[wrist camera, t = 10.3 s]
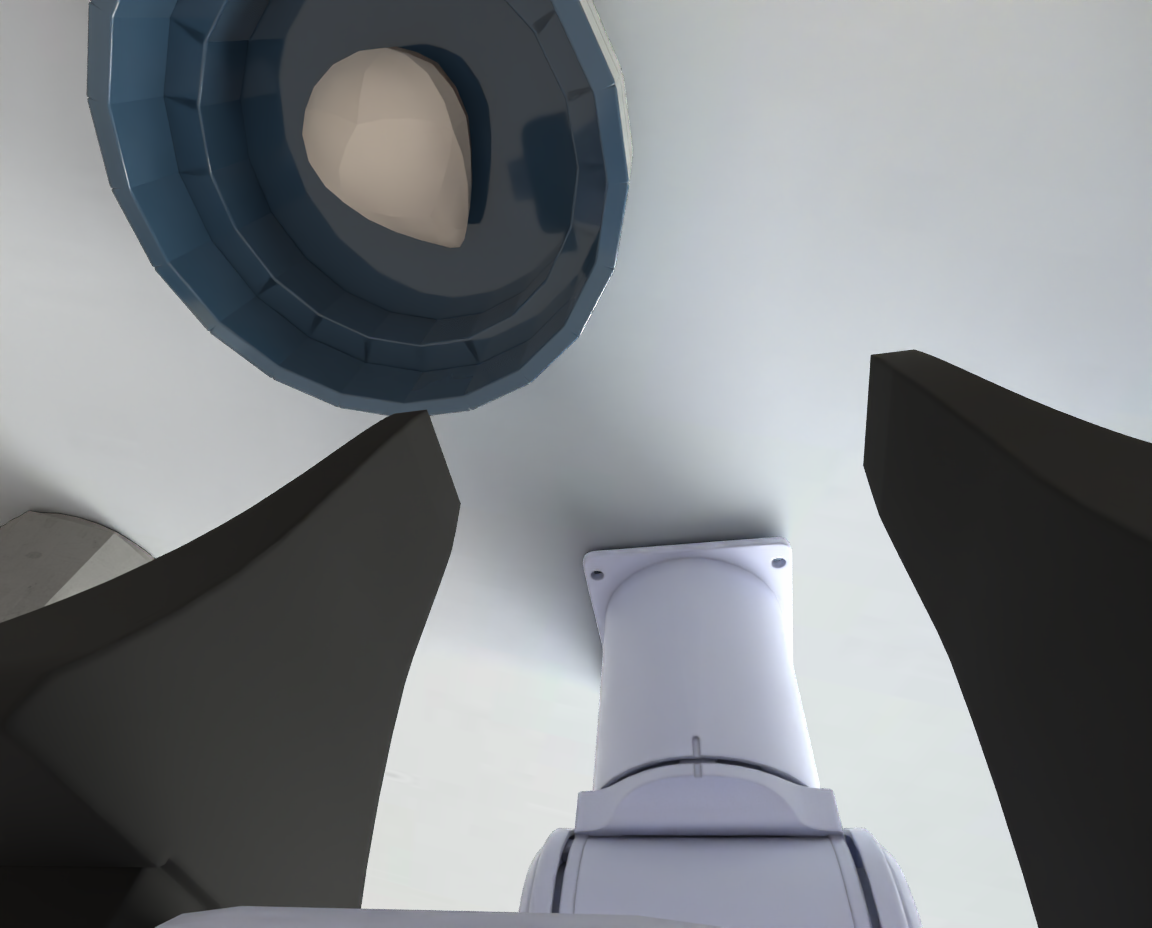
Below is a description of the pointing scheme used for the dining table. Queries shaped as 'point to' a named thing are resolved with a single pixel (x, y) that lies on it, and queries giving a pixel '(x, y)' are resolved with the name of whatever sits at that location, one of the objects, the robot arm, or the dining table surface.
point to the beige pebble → (393, 143)
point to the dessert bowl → (339, 233)
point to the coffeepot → (58, 560)
